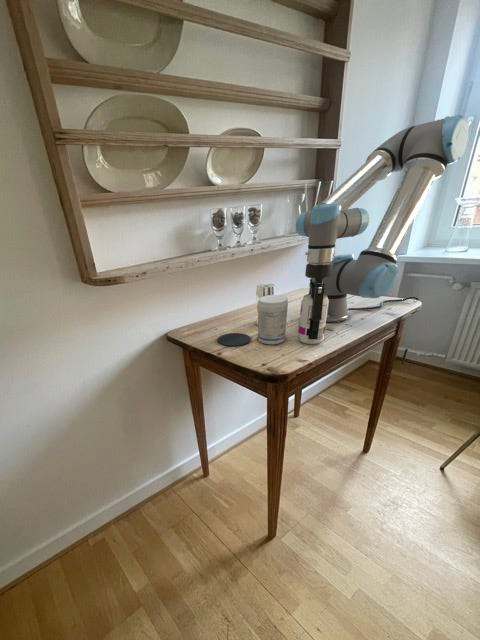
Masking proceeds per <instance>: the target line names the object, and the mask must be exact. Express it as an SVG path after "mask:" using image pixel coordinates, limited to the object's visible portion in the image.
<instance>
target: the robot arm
mask: <svg viewBox="0 0 480 640" xmlns="http://www.w3.org/2000/svg"><path fill="white" fill-rule="evenodd" d="M469 128H470V127H469V122H468V119H467V117H466V116H465V115H463V114H455V115H451V116H449V115H448V116H445V117H444V118H440V119H435V120H431V121H428V122H425V123H421V124H417V125H412V126H408V127H406V128H404V129H401V130H400V131H398V132H397V133H395V134H393V135H392V136H391V137H389V138H388V139H387V140H385V141H384V142H383V143H381V144H380V145H379V146H378V147H376V148H375V149H374V150H373V151H372V152H371V153H370V154H369V155H368V156H367V158H366V159H365V162H364V163H363V164H362V165H361V166H360V167H359V168H358V169H357V170H356V171H354V172H353V173H352V174H351V175H350V176H349V177H348V178H347V179H346V180H345V181H343V182H342V183H341V184H340V185H339V186H338V187H337V188H336V189H335V190H333V191H332V192H331V193H330V194H329V195H328V196H327V197H326V198H324V200H323V201H321V202H320V203H319V204H315V205H314V206H313V207H312V209H311V210H307V211H304V212H301V213H300V214H299V215H298V216H297V218H296V221H295V231H296V233H297V235H298V236H300V237H307V238H308V245H307V251H305V253H304V255H305V256H307V257H306V262H307V263H306V265H305V271H304V273H305V274H304V276H305V277H306V278H308V279H309V289H308V290H309V291H308V294H310V295H311V298H312V299H313V305H312V315H311V318H309V320H310V327H309V336H308V339H317V337H318V329H319V322H320V320H321V319H322V317H321V316H322V306H323V296H324V294H325V295H327V297H328V300H329V304H328V311H327V318H326V323H339V322H343V321H346V320H348V319H349V315H350V311H365V310H366V311H367V310H377V309H380V308H382V307H383V305H384V304H386V303H398V302H405V301H408V300H411V299H414V300H416V301H419V300H420V299H419V297H418V296H416V295H412V296H407V297H405V298H399V299H385V300H381V302H380V303H379V305H377V306H366V307H364V306H363V307H349V306H348V298H347V297H348V295H350V296H356V297H360V298H363V299H379V298H380V297H383V296H384V295H387V293H388V292H389V291H390V290H391V289H392V288H393V286H394V284H395V283H396V280H397V279H398V276H397V275H398V274H399V268H398V265H397V262H398V260H397V258H396V253H397V251H398V250H399V248H400V246H401V244H402V243H403V240H404V238H405V236H406V234H407V232H408V231H409V228H410V227H411V225H412V223H413V221H414V219H415V217H416V215H417V214H418V211H419V210H420V207H421V206H422V204H423V202H424V200H425V198H426V196H427V194H428V192H429V190H430V188H431V186H432V185H433V183H434V181H435V180H436V179H438V178H440V177H441V176H443V174H444V173H445V171H446V169H447V167H448V165H452V164H454V163H457V162H458V161H460V159H461V158H462V157H463V155H464V153H465V151H466V149H467V145H468V141H469V134H470V132H469V131H470V129H469ZM401 171H402V173H403V177H402V178H401V180H400V182H399V185H398V186H397V188H396V191H395V193H394V195H393V196H392V199H391V201H390V203H389V205H388V207H387V208H386V210H385V213H384V215H383V217H382V219H381V221H380V222H379V225H378V227H377V229H376V231H375V233H374V235H373V237H372V239H371V241H370V243H369V245H368V247H367V248H365V249H363V250H361V251H360V253H359V254H358V257H357V258H356V259H355V257H354V254H353V253H352V254H351V253H348V254H347V253H346V254H339V255H335V254H336V244H337V239H338V240H339V239H343V238H344V239H345V238H353V237H356V236H359V235H361V234H363V233H364V232H365V231H366V229H368V226H369V223H370V214H369V212H368V210H367V209H365V208H363V207H353V208H351V207H352V206H353V205H354V204H355V203H356V202H357V201H358V200H359V199H360V198H361V197H363V196H364V195H365V194H366V193H367V192H368V191H369V190H370V189H371V188H372V187H373V186H375V185H376V184H377V183H378V182H379V181H383V180H385V179H387V178H388V177H389V176H390V175H393V174H394V173H398V172H401ZM402 299H403V300H402ZM408 350H409V348H406V349H404V352H403V356H402V359H401V363H400V364H401V365H404V364H405V359H406V356H407V353H408Z"/></svg>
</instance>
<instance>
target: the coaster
mask: <svg viewBox="0 0 480 640" xmlns="http://www.w3.org/2000/svg"><path fill="white" fill-rule="evenodd" d="M251 340H252V339H251V336H250V335H248V334H247V333H246V334H245V333H241V332H232V333H231V332H230V333H225V334H223V335H220V336H219V337H218V338H217V343H218V344H219V345H221V346H224V347H241V346H245V345H248V344H249V343H250V342H251Z"/></svg>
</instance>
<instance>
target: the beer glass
mask: <svg viewBox="0 0 480 640" xmlns="http://www.w3.org/2000/svg"><path fill="white" fill-rule="evenodd" d="M255 291H256V292H255V304H256V305H255V306H256V311H257V313H258V303H259V299H260V298H261V297H263V296H268V295H275V284H273V283H260V284H257V285H256V290H255ZM256 325H257V326H258V317H257V319H256Z"/></svg>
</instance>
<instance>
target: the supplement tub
mask: <svg viewBox="0 0 480 640" xmlns="http://www.w3.org/2000/svg"><path fill="white" fill-rule="evenodd" d="M288 300H289V298H288V297H287V296H285V295H282V294H281V295H280V294H274V295H268V296H263V297H261V298H260V299H259V303H258V312H257V318H258V325H257V341H258V342H260V343H261V344H265V345H278V344H281V343H283V342H284V341H285V340H286V335H287V334H286V332H287V320H288V305H289V302H288Z"/></svg>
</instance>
